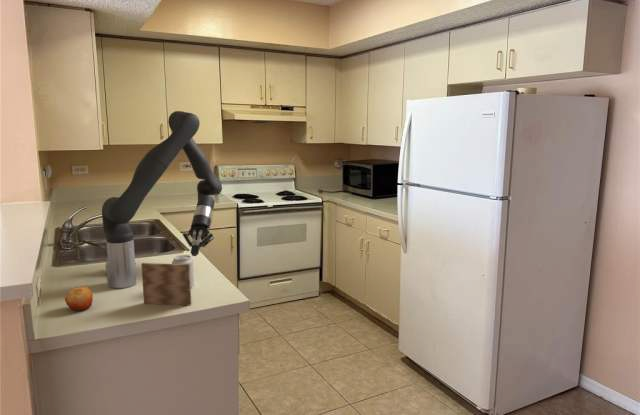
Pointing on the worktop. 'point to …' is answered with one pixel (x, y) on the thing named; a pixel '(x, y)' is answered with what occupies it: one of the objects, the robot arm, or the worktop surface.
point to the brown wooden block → (166, 283)
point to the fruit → (79, 298)
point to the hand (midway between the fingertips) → (194, 255)
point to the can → (186, 260)
